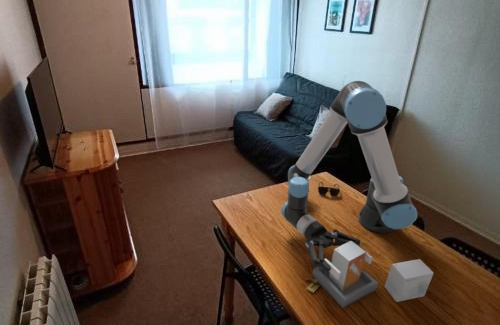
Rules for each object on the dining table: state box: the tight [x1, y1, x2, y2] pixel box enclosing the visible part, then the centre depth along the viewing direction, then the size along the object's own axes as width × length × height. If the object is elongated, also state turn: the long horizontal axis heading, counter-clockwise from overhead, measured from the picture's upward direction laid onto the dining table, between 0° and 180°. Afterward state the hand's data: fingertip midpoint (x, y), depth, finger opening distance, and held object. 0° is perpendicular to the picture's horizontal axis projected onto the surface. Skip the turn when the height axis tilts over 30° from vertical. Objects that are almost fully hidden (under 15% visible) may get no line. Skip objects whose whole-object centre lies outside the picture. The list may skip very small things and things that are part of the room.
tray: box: [312, 259, 379, 309], centre depth 99 cm, size 14×14×4 cm
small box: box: [329, 241, 367, 291], centre depth 96 cm, size 8×6×13 cm
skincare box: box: [384, 258, 434, 303], centre depth 94 cm, size 10×6×10 cm, turn 104°
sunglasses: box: [317, 181, 341, 197], centre depth 153 cm, size 10×12×5 cm
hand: (355, 268), depth 93 cm, fingers open, 13 cm apart
